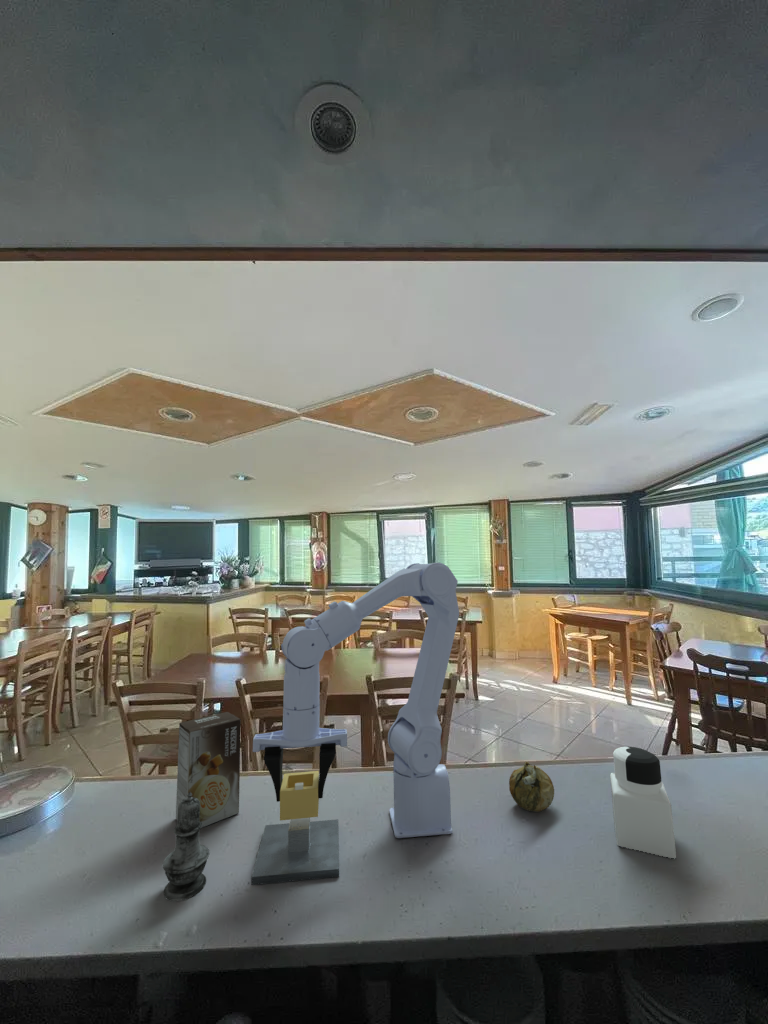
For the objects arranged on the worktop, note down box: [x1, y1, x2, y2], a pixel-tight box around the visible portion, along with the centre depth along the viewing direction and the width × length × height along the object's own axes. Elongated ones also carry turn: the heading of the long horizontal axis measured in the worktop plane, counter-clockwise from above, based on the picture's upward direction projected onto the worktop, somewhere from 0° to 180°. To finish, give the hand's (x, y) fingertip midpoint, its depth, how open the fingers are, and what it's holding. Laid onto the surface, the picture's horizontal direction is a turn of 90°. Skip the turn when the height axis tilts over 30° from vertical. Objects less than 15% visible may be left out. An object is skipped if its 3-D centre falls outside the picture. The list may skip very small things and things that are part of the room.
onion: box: [508, 761, 555, 813], centre depth 77 cm, size 8×8×8 cm
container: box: [609, 746, 677, 860], centre depth 68 cm, size 8×8×13 cm
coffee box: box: [175, 711, 242, 829], centre depth 75 cm, size 9×6×16 cm
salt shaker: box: [162, 792, 211, 902], centre depth 59 cm, size 6×6×12 cm
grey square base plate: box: [250, 818, 340, 886], centre depth 65 cm, size 12×12×4 cm
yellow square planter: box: [279, 770, 320, 821], centre depth 66 cm, size 6×6×5 cm
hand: (300, 796), depth 66 cm, fingers closed on yellow square planter, 6 cm apart
